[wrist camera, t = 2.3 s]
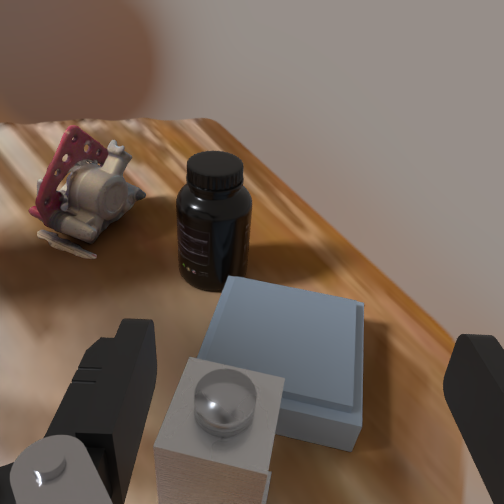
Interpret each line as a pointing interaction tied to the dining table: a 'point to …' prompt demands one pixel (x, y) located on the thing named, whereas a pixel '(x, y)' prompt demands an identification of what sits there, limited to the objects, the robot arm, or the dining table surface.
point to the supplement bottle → (213, 220)
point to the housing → (218, 436)
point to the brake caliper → (83, 191)
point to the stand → (296, 354)
